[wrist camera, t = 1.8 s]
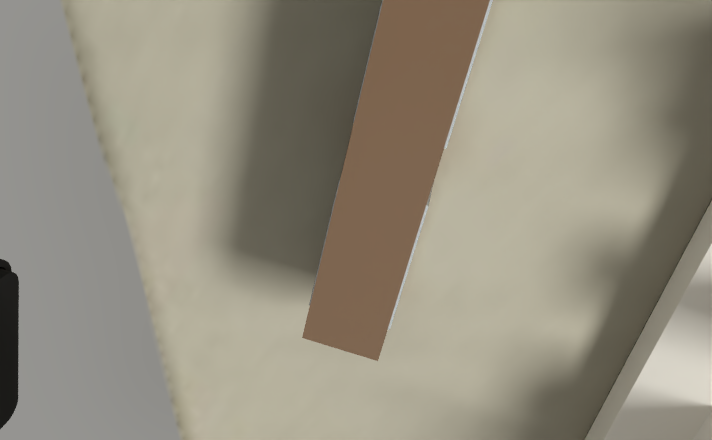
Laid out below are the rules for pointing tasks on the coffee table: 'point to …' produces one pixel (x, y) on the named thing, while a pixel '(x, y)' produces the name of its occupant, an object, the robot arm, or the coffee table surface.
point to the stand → (669, 359)
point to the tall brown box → (391, 166)
